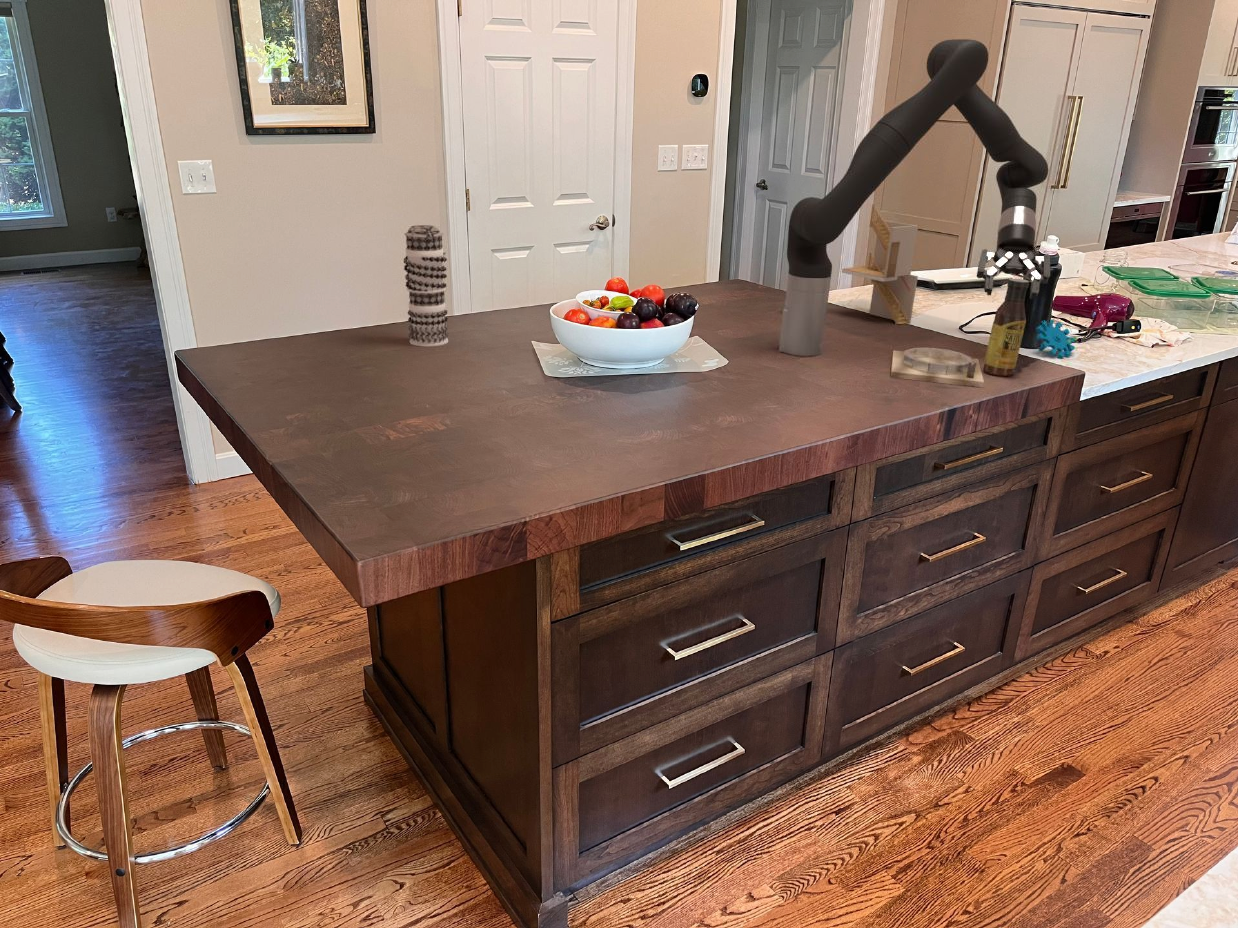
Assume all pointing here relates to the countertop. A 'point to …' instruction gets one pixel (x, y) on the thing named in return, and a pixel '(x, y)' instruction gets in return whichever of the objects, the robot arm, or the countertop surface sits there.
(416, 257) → the decorative candle
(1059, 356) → the teal virus model
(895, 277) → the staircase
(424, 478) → the countertop surface
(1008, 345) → the sauce bottle
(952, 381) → the maple board
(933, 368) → the white segmented ring
